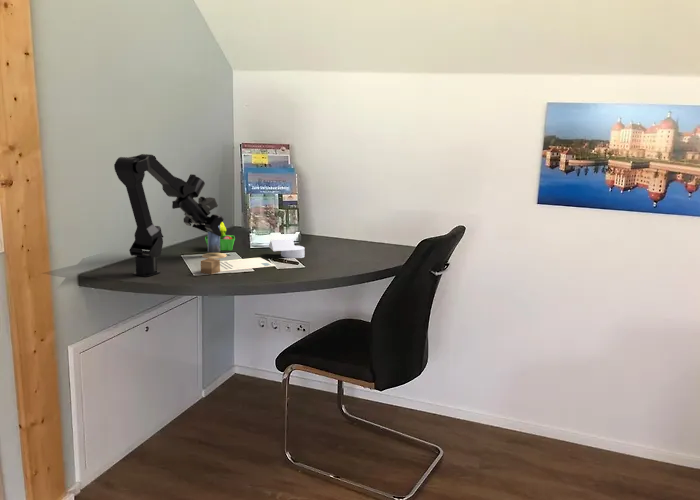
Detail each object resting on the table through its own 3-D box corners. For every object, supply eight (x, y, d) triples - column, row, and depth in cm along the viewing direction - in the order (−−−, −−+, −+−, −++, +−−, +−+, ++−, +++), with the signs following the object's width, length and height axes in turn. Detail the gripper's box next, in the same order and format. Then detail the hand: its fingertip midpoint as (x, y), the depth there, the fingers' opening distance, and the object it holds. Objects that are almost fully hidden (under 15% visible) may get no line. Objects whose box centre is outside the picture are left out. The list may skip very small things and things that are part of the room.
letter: (219, 272, 212) (219, 271, 212) (205, 263, 225) (205, 262, 225) (276, 266, 223) (276, 265, 223) (260, 258, 235) (260, 257, 235)
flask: (217, 252, 232) (217, 219, 230) (205, 252, 233) (205, 218, 230) (222, 250, 237) (221, 217, 234) (210, 249, 237) (210, 217, 235)
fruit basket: (205, 252, 243) (204, 223, 241) (205, 247, 251) (204, 219, 249) (235, 251, 246) (235, 223, 243) (234, 247, 254) (234, 219, 252)
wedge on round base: (273, 259, 233) (307, 258, 238) (273, 242, 232) (307, 240, 236) (268, 254, 242) (301, 253, 246) (268, 237, 240) (301, 236, 245)
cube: (211, 275, 208) (211, 262, 207) (200, 273, 210) (200, 260, 209) (220, 272, 212) (219, 259, 211) (209, 271, 214) (209, 258, 213)
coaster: (217, 260, 230) (217, 258, 229) (197, 257, 233) (197, 256, 233) (231, 255, 238) (231, 254, 237) (211, 253, 241) (211, 251, 241)
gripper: (218, 193, 221) (244, 221, 231) (190, 188, 234) (215, 215, 244) (199, 217, 217) (226, 244, 227) (171, 210, 230) (198, 237, 240)
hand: (216, 234), depth 235 cm, fingers closed on flask, 5 cm apart
